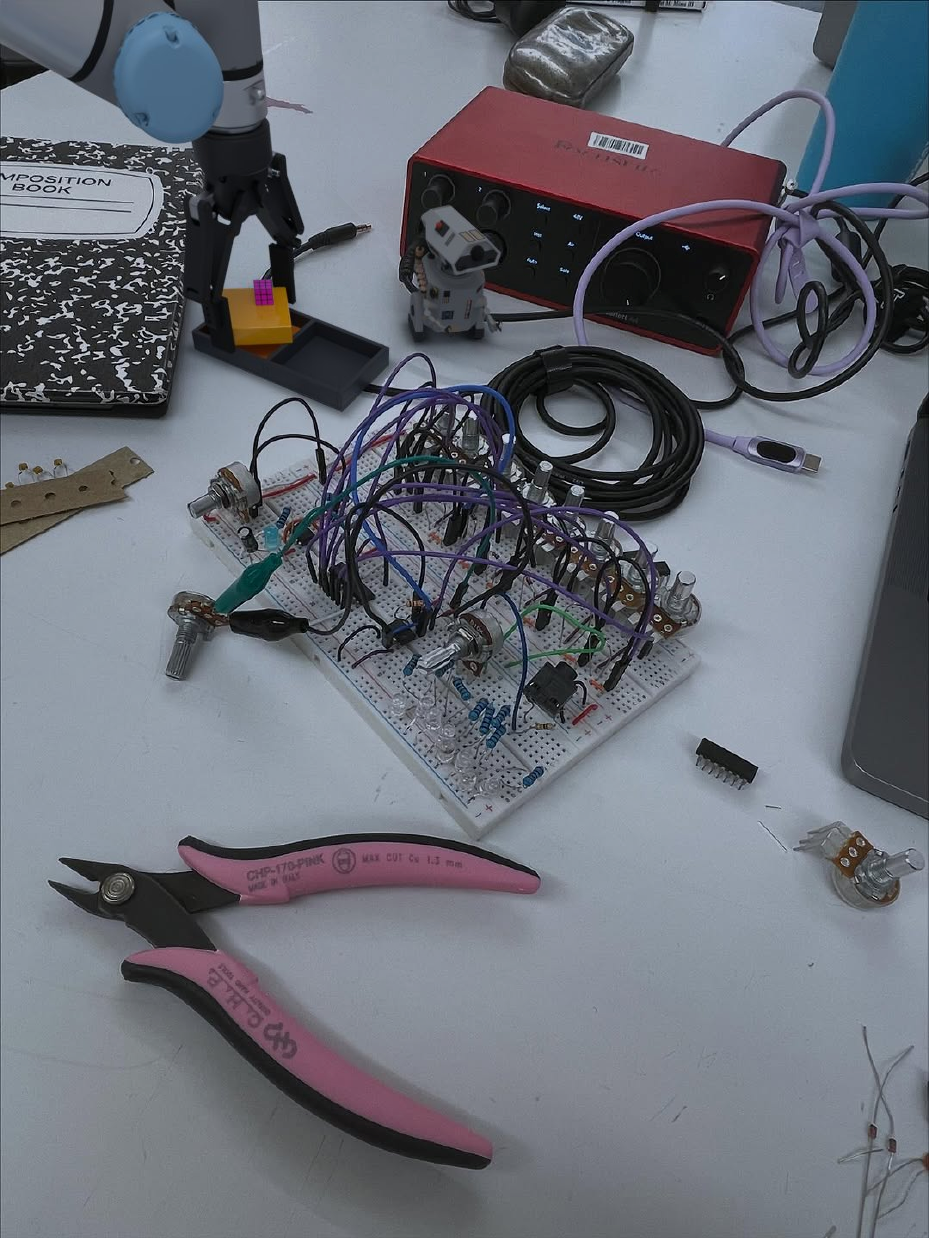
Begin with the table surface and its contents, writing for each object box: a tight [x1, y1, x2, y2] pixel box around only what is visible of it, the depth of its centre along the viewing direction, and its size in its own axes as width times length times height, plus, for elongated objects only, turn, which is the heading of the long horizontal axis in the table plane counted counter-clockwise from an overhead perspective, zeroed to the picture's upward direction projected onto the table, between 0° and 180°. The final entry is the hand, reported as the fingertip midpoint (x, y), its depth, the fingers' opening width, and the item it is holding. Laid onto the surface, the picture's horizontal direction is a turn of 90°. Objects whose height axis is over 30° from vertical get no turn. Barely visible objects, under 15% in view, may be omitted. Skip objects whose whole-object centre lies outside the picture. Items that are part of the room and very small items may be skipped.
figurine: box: [407, 204, 503, 342], centre depth 92 cm, size 9×12×15 cm
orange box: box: [222, 278, 293, 345], centre depth 91 cm, size 8×8×4 cm
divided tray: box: [190, 307, 390, 412], centre depth 92 cm, size 20×10×2 cm, turn 63°
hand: (255, 323), depth 92 cm, fingers closed on orange box, 11 cm apart
